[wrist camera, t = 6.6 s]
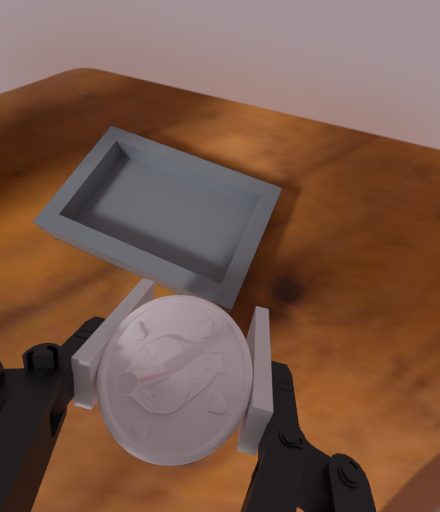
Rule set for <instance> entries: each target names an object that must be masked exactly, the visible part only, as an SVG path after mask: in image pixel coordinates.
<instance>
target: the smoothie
mask: <svg viewBox="0 0 440 512" xmlns="http://www.w3.org/2000/svg"><path fill="white" fill-rule="evenodd" d="M252 382H253V368H252V360H251V355H250V351H249V347H248V344H247V342H246V339H245V337H244V335H243V333H242V332H241V330H240V328H239V327H238V325H237V324H236V322H235V321H234V320H233V319H232V318H231V317H230V316H229V315H228V314H227V313H226V312H225V311H224V310H222V309H221V308H220V307H218V306H217V305H215V304H213V303H211V302H209V301H207V300H205V299H202V298H199V297H195V296H189V295H171V296H165V297H161V298H157V299H154V300H152V301H150V302H147V303H145V304H144V305H142V306H140V307H139V308H137V309H135V310H134V311H133V312H132V313H130V314H129V315H128V316H127V317H126V318H125V319H124V320H123V321H122V322H121V323H120V324H119V325H118V327H117V328H116V329H115V331H114V332H113V334H112V335H111V337H110V338H109V340H108V342H107V345H106V347H105V350H104V352H103V355H102V358H101V361H100V364H99V368H98V375H97V397H98V403H99V408H100V412H101V414H102V417H103V420H104V422H105V424H106V426H107V428H108V430H109V432H110V433H111V435H112V436H113V437H114V439H115V440H116V441H117V442H118V443H119V444H120V445H121V446H122V447H123V448H124V449H125V450H126V451H127V452H129V453H130V454H132V455H133V456H135V457H137V458H139V459H141V460H143V461H146V462H149V463H152V464H157V465H164V466H177V465H183V464H188V463H191V462H194V461H197V460H199V459H202V458H204V457H205V456H207V455H209V454H211V453H212V452H214V451H215V450H217V449H218V448H219V447H220V446H221V445H222V444H224V443H225V441H226V440H227V439H228V438H229V437H230V436H231V435H232V434H233V432H234V431H235V430H236V428H237V426H238V425H239V423H240V422H241V420H242V418H243V416H244V414H245V411H246V409H247V406H248V403H249V400H250V395H251V390H252Z"/></svg>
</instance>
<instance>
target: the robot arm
mask: <svg viewBox="0 0 440 512" xmlns="http://www.w3.org/2000/svg"><path fill="white" fill-rule="evenodd" d="M154 284H155V281H152V280H148V279H144V278H143V279H142V280H141V281H140V282H139V283H138V284H137V285H136V287H135V288H134V289H133V290H132V291H131V292H130V293H129V294H128V295H127V297H126V298H125V299H124V300H123V301H122V302H121V303H120V304H119V305H118V306H117V308H116V309H115V310H114V311H113V312H112V313H111V314H110V315H109V316H108V318H107V319H104V318H100V317H94V318H92V319H90V320H88V321H86V322H85V323H84V324H83V325H82V326H81V327H80V328H79V329H78V330H77V331H76V332H75V333H74V334H73V336H71V337H70V338H69V339H68V340H67V341H66V342H65V343H64V344H63V345H62V346H61V347H60V346H59V345H57V344H53V343H43V344H39V345H36V346H34V347H32V348H30V349H29V350H27V351H26V352H25V353H24V354H23V355H22V357H23V363H24V368H21V369H3V365H2V363H1V362H0V512H31V509H32V507H33V504H34V501H35V498H36V496H37V493H38V490H39V487H40V485H41V482H42V479H43V477H44V474H45V471H46V468H47V466H48V463H49V460H50V457H51V455H52V452H53V449H54V446H55V444H56V441H57V438H58V435H59V433H60V430H61V427H62V424H63V422H64V419H65V416H66V413H67V405H68V403H69V402H70V401H71V399H72V398H73V397H74V405H76V406H79V407H83V408H86V409H90V410H91V409H92V408H93V406H94V405H95V403H96V401H97V400H98V397H97V375H98V368H99V364H100V361H101V358H102V355H103V352H104V350H105V347H106V345H107V342H108V340H109V338H110V337H111V335H112V334H113V332H114V331H115V329H116V328H117V327H118V325H119V324H120V323H121V322H122V321H123V320H124V319H125V318H126V317H127V316H128V315H129V314H130V313H132V312H133V311H134V310H135V309H137V308H139V307H140V306H142V305H144V304H145V303H147V302H150V301H152V300H153V295H154ZM246 342H247V344H248V347H249V351H250V355H251V360H252V368H253V382H252V390H251V395H250V400H249V403H248V406H247V409H246V411H245V414H244V416H243V418H242V420H241V422H240V423H239V431H238V444H237V451H240V452H244V453H248V454H251V455H256V452H257V450H258V462H257V464H256V467H255V469H254V471H253V474H252V476H251V478H252V479H251V482H250V485H249V488H248V491H247V494H246V497H245V500H244V503H243V506H242V509H241V512H296V509H297V507H299V508H300V509H302V510H303V511H304V512H376V508H375V505H374V501H373V497H372V493H371V489H370V485H369V482H368V479H367V477H366V474H365V472H364V471H363V470H362V468H361V467H360V465H359V464H358V463H357V462H355V461H354V460H353V459H352V458H350V457H349V456H347V455H345V454H339V453H337V454H335V455H332V457H330V456H328V455H326V454H325V453H323V452H321V451H320V450H318V449H317V448H315V447H314V446H313V445H311V444H310V443H309V442H308V441H307V440H306V438H305V436H304V434H303V432H302V431H301V430H300V427H299V423H298V415H297V408H296V401H295V394H294V386H293V379H292V374H291V372H290V370H289V368H288V366H287V365H286V364H282V363H278V362H274V361H271V351H270V330H269V309H267V308H262V307H258V306H256V308H255V311H254V314H253V318H252V321H251V324H250V328H249V331H248V334H247V338H246Z"/></svg>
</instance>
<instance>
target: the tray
mask: <svg viewBox="0 0 440 512" xmlns="http://www.w3.org/2000/svg"><path fill="white" fill-rule="evenodd" d="M281 190H282V188H280V187H278V186H275V185H272V184H269V183H267V182H264V181H261V180H259V179H256V178H253V177H250V176H248V175H245V174H242V173H239V172H237V171H234V170H231V169H229V168H226V167H223V166H220V165H218V164H215V163H212V162H209V161H207V160H204V159H201V158H198V157H196V156H193V155H190V154H188V153H185V152H182V151H179V150H177V149H174V148H171V147H168V146H166V145H163V144H160V143H158V142H155V141H152V140H149V139H147V138H144V137H141V136H138V135H136V134H133V133H130V132H127V131H125V130H122V129H119V128H117V127H114V126H110V128H109V129H108V130H107V131H106V133H105V134H104V135H103V136H102V137H101V139H100V140H99V141H98V142H97V144H96V145H95V146H94V147H93V149H92V150H91V151H90V152H89V153H88V155H87V156H86V157H85V158H84V160H83V161H82V162H81V163H80V164H79V166H78V167H77V168H76V169H75V171H74V172H73V173H72V174H71V176H70V177H69V178H68V179H67V180H66V182H65V183H64V184H63V185H62V187H61V188H60V189H59V190H58V191H57V193H56V194H55V195H54V196H53V198H52V199H51V200H50V201H49V203H48V204H47V205H46V206H45V207H44V209H43V210H42V211H41V212H40V214H39V215H38V216H37V217H36V218H35V220H34V221H33V223H34V224H36V225H37V226H38V227H40V228H41V229H42V230H44V231H45V232H46V233H48V234H49V235H50V236H52V237H53V238H55V239H57V240H59V241H62V242H64V243H66V244H68V245H71V246H73V247H75V248H77V249H80V250H82V251H84V252H86V253H89V254H91V255H93V256H95V257H98V258H100V259H102V260H104V261H107V262H109V263H111V264H113V265H116V266H118V267H120V268H122V269H125V270H127V271H129V272H131V273H134V274H136V275H138V276H140V277H143V278H145V279H148V280H152V281H155V283H156V284H158V285H161V286H163V287H165V288H167V289H170V290H172V291H174V292H176V293H179V294H181V295H189V296H195V297H199V298H202V299H205V300H207V301H209V302H211V303H213V304H215V305H217V306H218V307H220V308H221V309H222V310H224V311H225V312H226V313H227V314H228V315H230V313H231V310H232V308H233V305H234V303H235V301H236V298H237V296H238V293H239V291H240V289H241V286H242V284H243V281H244V279H245V277H246V274H247V272H248V269H249V267H250V265H251V262H252V260H253V257H254V255H255V253H256V250H257V248H258V246H259V243H260V241H261V238H262V236H263V234H264V231H265V229H266V226H267V224H268V222H269V219H270V217H271V214H272V212H273V210H274V207H275V205H276V202H277V200H278V197H279V195H280V192H281Z"/></svg>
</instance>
